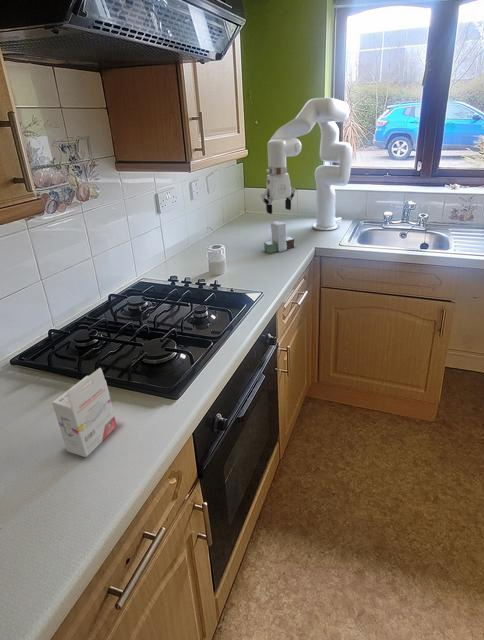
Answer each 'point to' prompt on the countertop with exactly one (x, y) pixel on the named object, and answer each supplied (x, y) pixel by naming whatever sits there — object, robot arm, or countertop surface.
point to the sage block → (270, 247)
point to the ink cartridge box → (85, 414)
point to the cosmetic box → (279, 235)
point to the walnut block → (289, 242)
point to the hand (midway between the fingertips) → (279, 211)
